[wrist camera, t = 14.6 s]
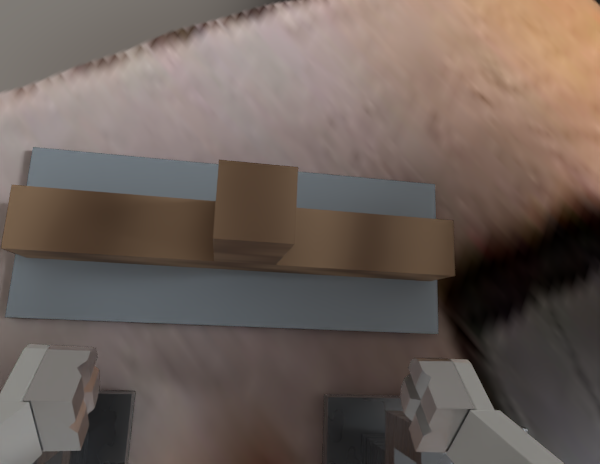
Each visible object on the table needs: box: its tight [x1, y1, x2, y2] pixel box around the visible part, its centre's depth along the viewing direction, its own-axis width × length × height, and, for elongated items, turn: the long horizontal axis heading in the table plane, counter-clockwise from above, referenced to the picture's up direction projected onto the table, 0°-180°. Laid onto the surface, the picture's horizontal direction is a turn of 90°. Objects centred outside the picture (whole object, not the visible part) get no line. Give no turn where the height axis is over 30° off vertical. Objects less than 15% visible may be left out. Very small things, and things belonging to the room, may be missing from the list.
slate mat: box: [5, 147, 438, 334], centre depth 26 cm, size 23×9×1 cm, turn 88°
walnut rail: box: [1, 160, 455, 281], centre depth 22 cm, size 22×3×9 cm, turn 88°
